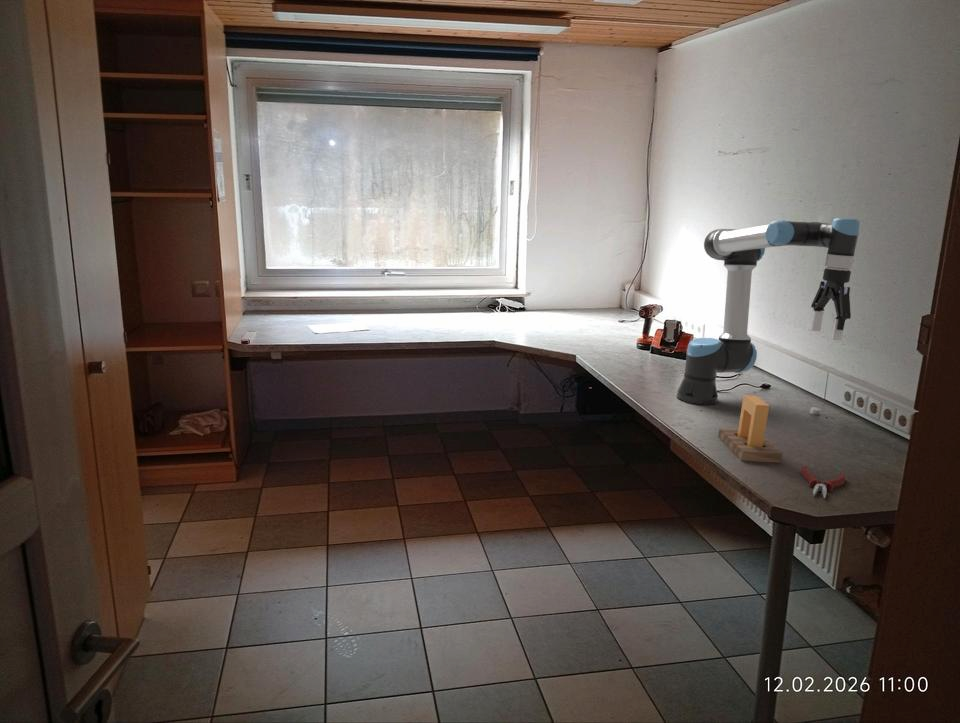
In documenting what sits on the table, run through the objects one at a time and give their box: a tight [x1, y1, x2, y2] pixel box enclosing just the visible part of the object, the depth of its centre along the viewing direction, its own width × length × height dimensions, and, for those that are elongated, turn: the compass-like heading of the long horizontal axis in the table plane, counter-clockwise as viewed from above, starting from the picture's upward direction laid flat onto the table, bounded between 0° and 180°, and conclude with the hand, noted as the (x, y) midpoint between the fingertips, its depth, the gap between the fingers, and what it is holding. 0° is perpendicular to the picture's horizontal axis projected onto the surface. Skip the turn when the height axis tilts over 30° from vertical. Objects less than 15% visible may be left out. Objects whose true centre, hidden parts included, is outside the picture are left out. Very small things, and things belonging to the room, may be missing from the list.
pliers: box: [800, 464, 846, 499], centre depth 189 cm, size 12×20×3 cm, turn 151°
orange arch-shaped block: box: [737, 394, 770, 447], centre depth 212 cm, size 10×4×16 cm, turn 0°
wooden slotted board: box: [717, 427, 783, 464], centre depth 214 cm, size 20×12×3 cm, turn 0°
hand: (825, 335), depth 219 cm, fingers open, 13 cm apart
